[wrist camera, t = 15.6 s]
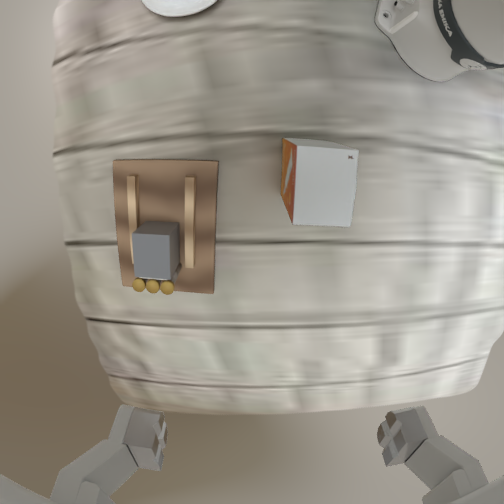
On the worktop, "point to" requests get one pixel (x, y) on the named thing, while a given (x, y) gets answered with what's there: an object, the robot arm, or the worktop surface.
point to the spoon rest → (177, 6)
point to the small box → (319, 182)
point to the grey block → (156, 249)
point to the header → (168, 217)
